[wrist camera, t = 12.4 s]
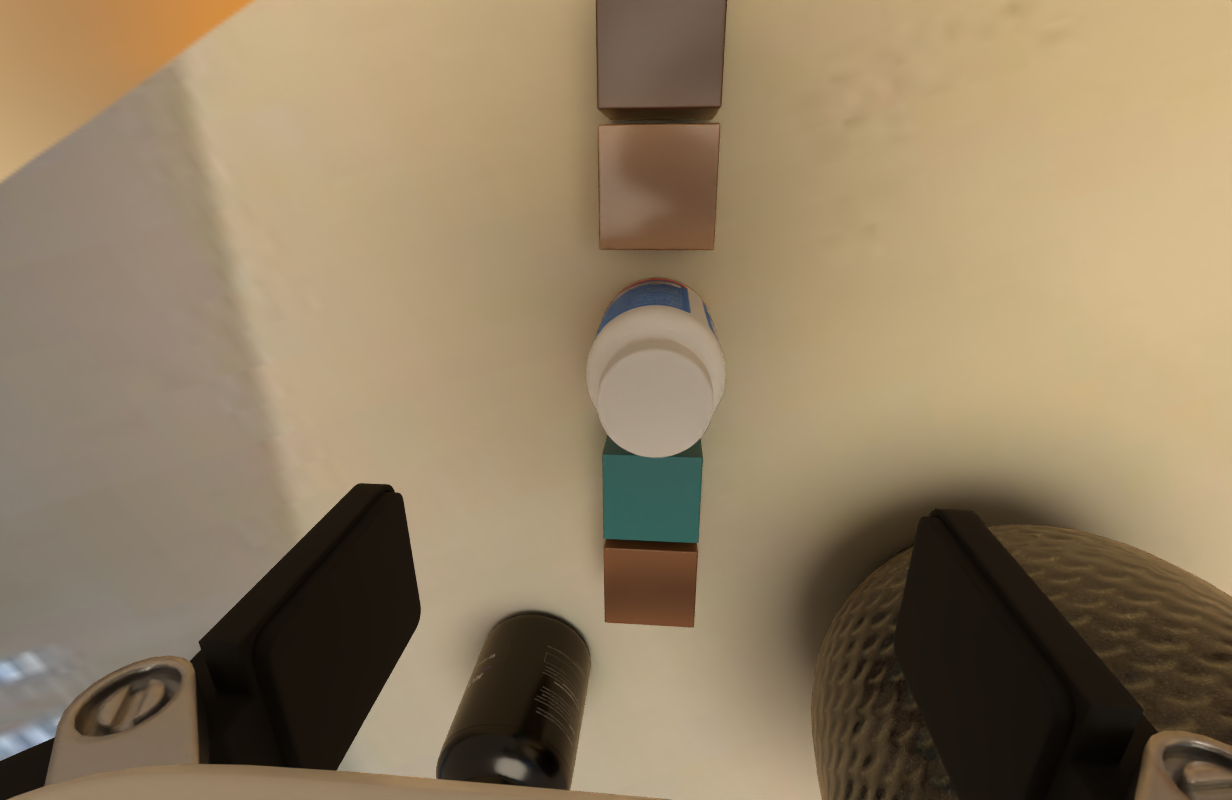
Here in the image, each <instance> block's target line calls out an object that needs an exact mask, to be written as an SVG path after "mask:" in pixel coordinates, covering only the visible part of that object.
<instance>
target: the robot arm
mask: <svg viewBox="0 0 1232 800" xmlns="http://www.w3.org/2000/svg"><path fill="white" fill-rule="evenodd" d="M420 613H421V606H420V600H419V593H418V587H417V581H416V575H415V569H414V563H413V557H412V550H411V544H410V538H409V532H408V526H407V520H406V514H405V508H404V501H403V497H402V495H401V494H400V493H395V492H394V489H393V488H392V486H390V485H387V484H364V483H361V484H357V485H356V486H354V487H353V488H352V489H351V490H350V491H349V492H348V493H347V494H346V495H345V496H344V497H343V498H342V499H341V500H340V501H339V502H338V503H337V504H336V505H335V506H334V507H333V508H332V509H331V510H330V511H329V512H328V513H327V514H326V515H325V516H324V517H323V518H322V519H321V520H320V521H319V522H318V523H317V524H316V525H315V526H314V527H313V528H312V529H311V530H310V531H309V532H308V533H307V534H306V535H305V536H304V537H303V538H302V539H301V540H300V541H299V542H298V543H297V544H296V545H295V546H294V547H293V548H292V549H291V550H290V551H289V552H288V553H287V554H286V555H285V556H284V557H283V558H282V559H281V560H280V561H279V562H278V563H277V564H276V565H275V566H274V567H273V568H272V569H271V570H270V571H269V572H268V573H267V574H266V575H265V576H264V577H263V578H262V579H261V580H260V581H259V582H258V583H257V584H256V585H255V586H254V587H253V588H252V589H251V590H250V591H249V592H248V593H247V594H246V595H245V596H244V597H243V598H242V599H241V600H240V601H239V602H238V603H237V604H236V605H235V606H234V607H233V608H232V609H231V610H230V611H229V612H228V613H227V614H226V615H225V616H224V617H223V618H222V619H221V620H220V621H219V622H218V623H217V624H216V625H215V626H214V627H213V628H212V629H211V630H210V631H209V632H208V633H207V634H206V635H205V636H204V637H203V638H202V639H201V640H200V641H199V644H200V647H201V650H200V651H199V652H198V653H197V654H196V656H195V657H194V658H193V659H192V660H191V661H190V662H189V661H187V660H186V659H184V658H181V657H175V656H161V657H152V658H148V659H145V660H141V661H138V662H134V663H132V664H129V665H127V666H125V667H122V668H120V669H118V670H116V671H113V672H112V673H110V674H108V675H107V676H105V677H103V678H102V679H100V680H98V681H97V682H95V683H93V684H92V685H91V686H90V687H88V688H87V689H86V690H85V691H83V692H82V693H81V694H80V695H79V696H77V697H76V698H75V699H74V701H73V702H72V703H71V704H70V705H69V706H68V708H67V709H66V710H65V711H64V713H63V715H62V717H61V719H60V721H59V724H58V726H57V730H56V735H55V738H52V739H50V740H48V741H45V742H43V743H41V744H39V745H36V746H34V747H32V748H29V749H27V750H25V751H22V752H20V753H18V754H16V755H13V756H11V757H9V758H6V759H4V760H2V761H0V800H670V799H659V798H648V797H637V796H626V795H615V794H604V793H593V792H581V791H570V790H559V789H548V788H537V787H526V786H514V785H502V784H491V783H479V782H467V781H455V780H443V779H431V778H420V777H408V776H396V775H384V774H372V773H360V772H348V771H336V770H337V769H338V767H339V765H340V763H341V761H342V760H343V758H344V756H345V754H346V753H347V751H348V749H349V747H350V745H351V744H352V742H353V740H354V738H355V736H356V735H357V733H358V731H359V729H360V728H361V726H362V724H363V722H364V720H365V719H366V717H367V715H368V713H369V712H370V710H371V708H372V706H373V704H374V703H375V701H376V699H377V697H378V696H379V694H380V692H381V690H382V688H383V687H384V685H385V683H386V681H387V679H388V678H389V676H390V674H391V672H392V671H393V669H394V667H395V665H396V663H397V662H398V660H399V658H400V656H401V655H402V653H403V651H404V649H405V647H406V646H407V644H408V642H409V640H410V639H411V637H412V635H413V633H414V631H415V630H416V628H417V625H418V623H419V619H420ZM894 652H895V656H896V659H897V662H898V664H899V666H900V668H901V671H902V673H903V675H904V677H905V679H906V682H907V684H908V686H909V688H910V691H911V693H912V695H913V697H914V700H915V702H916V704H917V706H918V709H919V711H920V713H921V715H922V718H923V720H924V722H925V724H926V726H927V729H928V731H929V733H930V735H931V738H932V740H933V742H934V744H935V747H936V749H937V751H938V753H939V756H940V758H941V760H942V762H943V765H944V767H945V769H946V771H947V774H948V776H949V778H950V780H951V782H952V785H953V787H954V789H955V791H956V794H957V796H958V798H959V800H1232V746H1230V745H1227V744H1225V743H1222V742H1220V741H1217V740H1214V739H1212V738H1209V737H1207V736H1203V735H1199V734H1194V733H1190V732H1186V731H1162V732H1160V733H1159V732H1158V731H1157V730H1156V729H1155V728H1154V727H1153V725H1152V724H1151V723H1150V722H1149V721H1148V720H1147V718H1146V717H1145V716H1144V715H1143V714H1142V713H1143V711H1144V709H1143V708H1142V707H1141V705H1140V704H1139V703H1138V702H1137V701H1136V700H1135V698H1134V697H1133V696H1132V695H1131V694H1130V693H1129V691H1128V690H1127V689H1126V688H1125V687H1124V686H1123V684H1122V683H1121V682H1120V681H1119V680H1118V679H1117V677H1116V676H1115V675H1114V674H1113V673H1112V672H1111V671H1110V669H1109V668H1108V667H1107V666H1106V665H1105V664H1104V662H1103V661H1102V660H1101V659H1100V658H1099V657H1098V655H1097V654H1096V653H1095V652H1094V651H1093V650H1092V648H1091V647H1090V646H1089V645H1088V644H1087V643H1086V641H1085V640H1084V639H1083V638H1082V637H1081V636H1080V634H1079V633H1078V632H1077V631H1076V630H1075V629H1074V628H1073V626H1072V625H1071V624H1070V623H1069V622H1068V621H1067V619H1066V618H1065V617H1064V616H1063V615H1062V614H1061V612H1060V611H1059V610H1058V609H1057V608H1056V607H1055V605H1054V604H1053V603H1052V602H1051V601H1050V600H1049V598H1048V597H1047V596H1046V595H1045V594H1044V593H1043V591H1042V590H1041V589H1040V588H1039V587H1038V586H1037V585H1036V583H1035V582H1034V581H1033V580H1032V579H1031V578H1030V576H1029V575H1028V574H1027V573H1026V572H1025V571H1024V569H1023V568H1022V567H1021V566H1020V565H1019V564H1018V562H1017V561H1016V560H1015V559H1014V558H1013V557H1012V555H1011V554H1010V553H1009V552H1008V551H1007V550H1006V548H1005V547H1004V546H1003V545H1002V544H1001V543H1000V542H999V540H998V539H997V538H996V537H995V536H994V535H993V533H992V532H991V531H990V530H989V529H988V528H987V526H986V525H985V524H984V523H983V522H982V521H981V519H980V518H979V517H978V516H977V515H976V514H975V513H974V512H973V511H970V510H952V509H934V510H933V511H932V512H931V514H930V516H929V517H922V518H921V519H920V521H919V524H918V528H917V533H916V537H915V542H914V547H913V551H912V556H911V560H910V565H909V569H908V574H907V579H906V583H905V588H904V592H903V597H902V602H901V606H900V611H899V615H898V620H897V624H896V629H895V634H894Z"/></svg>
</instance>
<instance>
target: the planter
mask: <svg viewBox="0 0 1232 800" xmlns="http://www.w3.org/2000/svg"><path fill="white" fill-rule="evenodd" d="M987 528H988V529H989V530H990V531H991V532H992V533H993V535H994V536H995V537H996V538H997V539H998V540H999V542H1000V543H1001V544H1002V545H1003V546H1004V547H1005V548H1006V550H1007V551H1008V552H1009V553H1010V554H1011V555H1012V557H1013V558H1014V559H1015V560H1016V561H1017V562H1018V564H1019V565H1020V566H1021V567H1022V568H1023V569H1024V571H1025V572H1026V573H1027V574H1028V575H1029V576H1030V578H1031V579H1032V580H1033V581H1034V582H1035V583H1036V585H1037V586H1038V587H1039V588H1040V589H1041V590H1042V591H1043V593H1044V594H1045V595H1046V596H1047V597H1048V598H1049V600H1050V601H1051V602H1052V603H1053V604H1054V605H1055V607H1056V608H1057V609H1058V610H1059V611H1060V612H1061V614H1062V615H1063V616H1064V617H1065V618H1066V619H1067V621H1068V622H1069V623H1070V624H1071V625H1072V626H1073V628H1074V629H1075V630H1076V631H1077V632H1078V633H1079V634H1080V636H1081V637H1082V638H1083V639H1084V640H1085V641H1086V643H1087V644H1088V645H1089V646H1090V647H1091V648H1092V650H1093V651H1094V652H1095V653H1096V654H1097V655H1098V657H1099V658H1100V659H1101V660H1102V661H1103V662H1104V664H1105V665H1106V666H1107V667H1108V668H1109V669H1110V671H1111V672H1112V673H1113V674H1114V675H1115V676H1116V677H1117V679H1118V680H1119V681H1120V682H1121V683H1122V684H1123V686H1124V687H1125V688H1126V689H1127V690H1128V691H1129V693H1130V694H1131V695H1132V696H1133V697H1134V698H1135V700H1136V701H1137V702H1138V703H1139V704H1140V705H1141V707H1142V708H1143V709H1144V711H1143V713H1142V714H1143V715H1144V716H1145V717H1146V718H1147V720H1148V721H1149V722H1150V723H1151V724H1152V725H1153V727H1154V728H1155V729H1156V730H1157V731H1158V732H1159V733H1160V732H1162V731H1186V732H1190V733H1194V734H1199V735H1203V736H1207V737H1209V738H1212V739H1214V740H1217V741H1220V742H1222V743H1225V744H1227V745H1230V746H1232V597H1231V596H1230V595H1228V594H1226V593H1225V592H1223V591H1221V590H1220V589H1218V588H1216V587H1215V586H1213V585H1211V584H1210V583H1208V582H1207V581H1205V580H1203V579H1201V578H1199V577H1197V576H1195V575H1193V574H1191V573H1189V572H1187V571H1185V570H1183V569H1181V568H1179V567H1177V566H1175V565H1173V564H1171V563H1169V562H1167V561H1164V560H1162V559H1160V558H1158V557H1156V556H1154V555H1152V554H1150V553H1147V552H1145V551H1143V550H1140V549H1138V548H1135V547H1133V546H1130V545H1128V544H1125V543H1121V542H1118V541H1115V540H1111V539H1108V538H1105V537H1101V536H1098V535H1094V534H1091V533H1087V532H1084V531H1080V530H1075V529H1068V528H1061V527H1054V526H1046V525H995V526H987ZM913 547H914V544H913V545H911V546H909V547H907V548H906V549H904V550H902V551H900V552H898V553H897V554H896V555H894V556H893V557H891V558H890V559H889V560H887V561H886V562H885V563H884V564H883V565H882V566H880V567H879V568H878V569H876V570H875V571H873V572H872V573H871V574H870V575H869V576H868V577H867V578H866V579H865V580H864V581H863V582H862V583H861V584H860V585H859V586H858V587H857V588H856V589H855V590H854V591H853V592H852V593H851V595H850V596H849V597H848V599H847V600H846V601H845V602H844V604H843V605H842V606H841V608H840V609H839V610H838V612H837V614H836V616H835V617H834V619H833V621H832V623H831V625H830V627H829V629H828V631H827V633H826V635H825V636H824V638H823V642H822V645H821V648H820V651H819V655H818V658H817V662H816V667H815V672H814V683H813V693H812V706H811V716H812V735H813V743H814V751H815V759H816V767H817V775H818V781H819V787H820V792H821V798H822V800H959V798H958V796H957V794H956V791H955V789H954V787H953V785H952V782H951V780H950V778H949V776H948V774H947V771H946V769H945V767H944V765H943V762H942V760H941V758H940V756H939V753H938V751H937V749H936V747H935V744H934V742H933V740H932V738H931V735H930V733H929V731H928V729H927V726H926V724H925V722H924V720H923V718H922V715H921V713H920V711H919V709H918V706H917V704H916V702H915V700H914V697H913V695H912V693H911V691H910V688H909V686H908V684H907V682H906V679H905V677H904V675H903V673H902V671H901V668H900V666H899V664H898V662H897V659H896V656H895V652H894V634H895V629H896V624H897V620H898V615H899V611H900V606H901V602H902V597H903V592H904V588H905V583H906V579H907V574H908V569H909V565H910V560H911V556H912V551H913Z"/></svg>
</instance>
